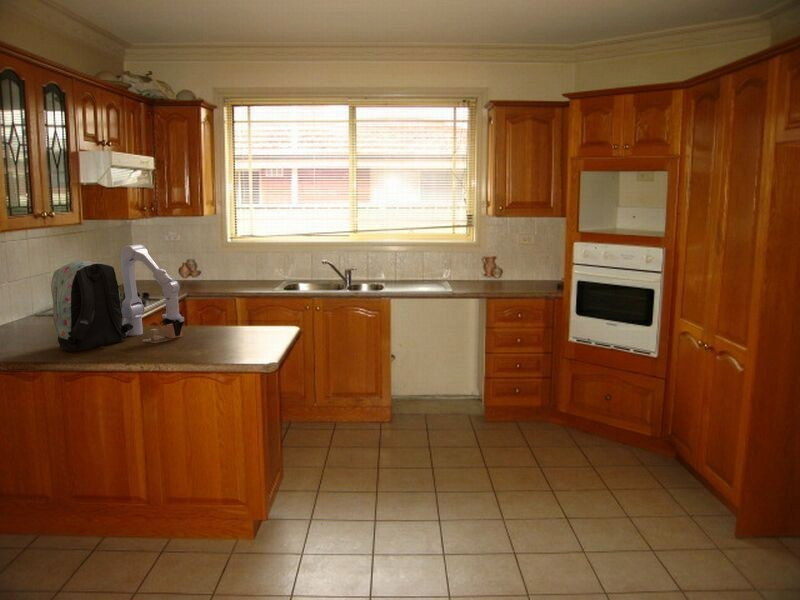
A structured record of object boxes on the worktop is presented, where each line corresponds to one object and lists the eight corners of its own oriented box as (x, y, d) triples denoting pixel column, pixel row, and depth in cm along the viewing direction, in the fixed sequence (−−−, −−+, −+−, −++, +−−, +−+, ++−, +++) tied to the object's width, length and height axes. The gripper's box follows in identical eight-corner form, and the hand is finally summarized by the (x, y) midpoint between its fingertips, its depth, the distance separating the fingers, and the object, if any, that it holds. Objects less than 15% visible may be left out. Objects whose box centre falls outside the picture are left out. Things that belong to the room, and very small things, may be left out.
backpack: (102, 335, 320) (95, 256, 314) (137, 340, 309) (131, 258, 302) (40, 350, 292) (30, 263, 285) (76, 356, 281) (67, 266, 274)
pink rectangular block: (166, 338, 312) (165, 324, 311) (175, 336, 317) (175, 322, 315) (173, 339, 309) (172, 326, 308) (182, 337, 314) (181, 324, 312)
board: (141, 341, 306) (141, 340, 306) (160, 337, 314) (160, 336, 314) (154, 345, 300) (153, 343, 300) (173, 340, 308) (172, 339, 308)
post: (151, 340, 306) (150, 329, 305) (156, 339, 308) (155, 328, 307) (154, 341, 304) (153, 330, 303) (159, 339, 306) (158, 329, 305)
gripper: (188, 307, 309) (190, 335, 312) (170, 303, 318) (172, 331, 320) (175, 309, 304) (177, 338, 306) (157, 306, 312) (159, 334, 315)
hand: (174, 334), depth 313 cm, fingers closed on pink rectangular block, 5 cm apart
